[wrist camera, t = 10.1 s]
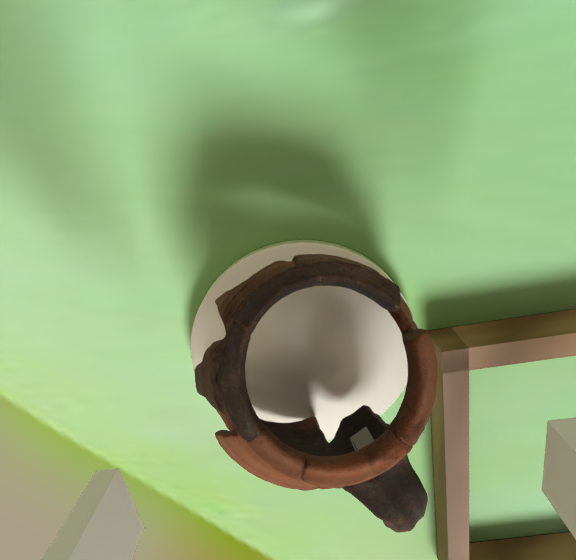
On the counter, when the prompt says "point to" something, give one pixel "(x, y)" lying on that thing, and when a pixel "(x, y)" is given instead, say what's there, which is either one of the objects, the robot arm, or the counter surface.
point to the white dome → (311, 344)
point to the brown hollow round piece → (306, 433)
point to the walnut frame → (455, 426)
